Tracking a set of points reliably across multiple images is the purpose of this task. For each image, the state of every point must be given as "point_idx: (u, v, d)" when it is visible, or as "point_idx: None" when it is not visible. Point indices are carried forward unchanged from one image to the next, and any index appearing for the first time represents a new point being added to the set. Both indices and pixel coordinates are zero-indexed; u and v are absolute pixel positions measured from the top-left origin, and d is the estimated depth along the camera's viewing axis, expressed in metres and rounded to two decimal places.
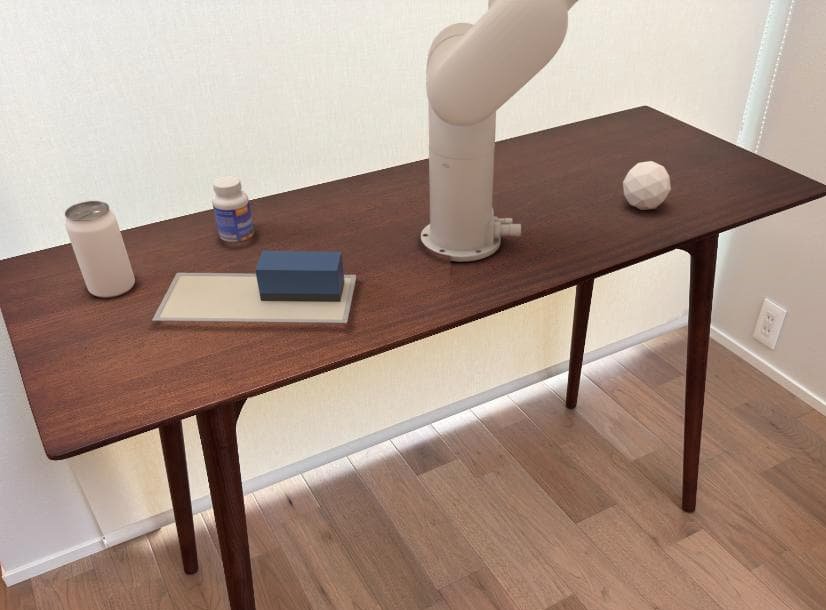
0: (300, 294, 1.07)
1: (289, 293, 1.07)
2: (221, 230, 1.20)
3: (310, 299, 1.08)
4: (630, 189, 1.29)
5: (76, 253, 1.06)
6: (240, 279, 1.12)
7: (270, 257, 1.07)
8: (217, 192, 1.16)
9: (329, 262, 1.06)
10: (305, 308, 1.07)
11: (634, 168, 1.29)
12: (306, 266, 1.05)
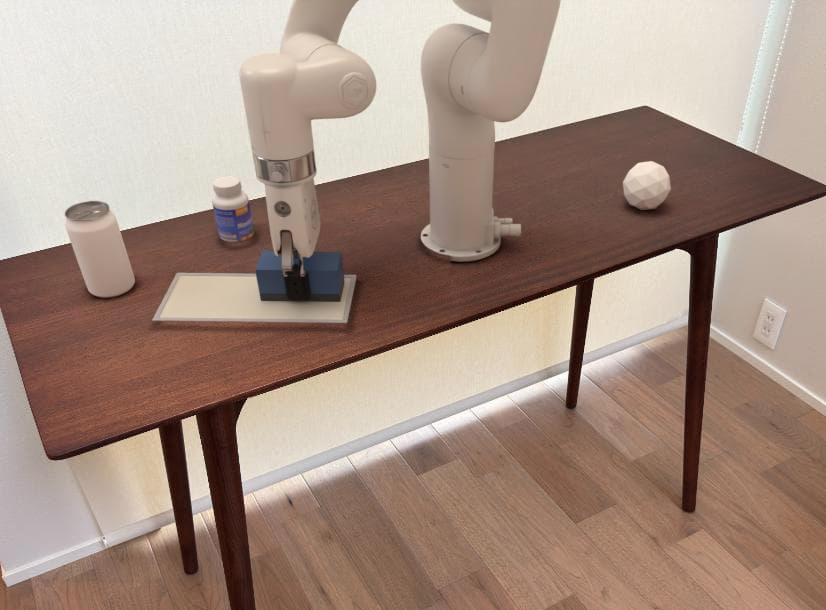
0: None
1: None
2: (221, 230, 1.20)
3: (310, 299, 1.08)
4: (630, 189, 1.29)
5: (76, 253, 1.06)
6: (240, 279, 1.12)
7: (270, 257, 1.07)
8: (217, 192, 1.16)
9: (329, 262, 1.06)
10: (305, 308, 1.07)
11: (634, 168, 1.29)
12: (306, 266, 1.05)
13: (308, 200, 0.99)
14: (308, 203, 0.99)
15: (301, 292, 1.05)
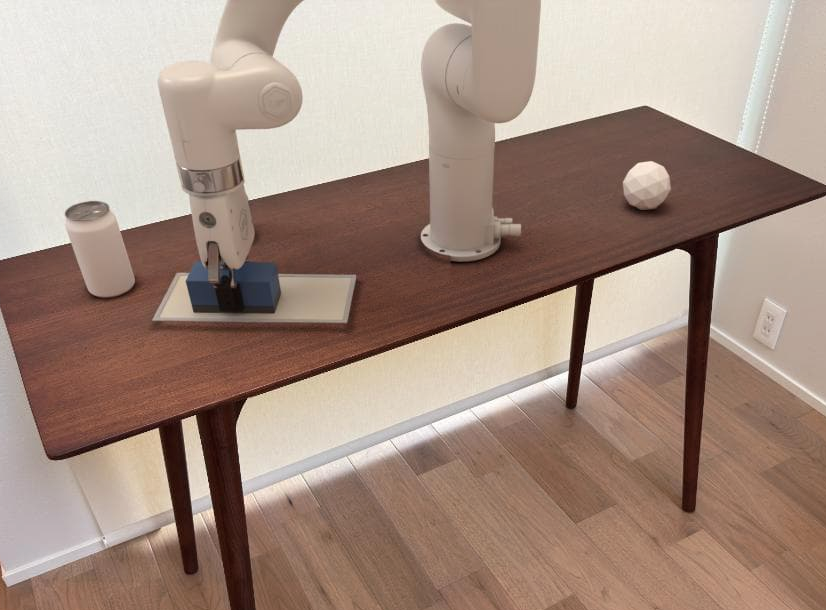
0: None
1: None
2: None
3: (243, 311, 1.05)
4: (630, 189, 1.29)
5: (76, 253, 1.06)
6: None
7: (202, 268, 1.05)
8: None
9: (262, 273, 1.04)
10: (305, 308, 1.07)
11: (634, 168, 1.29)
12: (238, 278, 1.03)
13: (235, 211, 0.96)
14: (235, 214, 0.96)
15: (233, 304, 1.03)
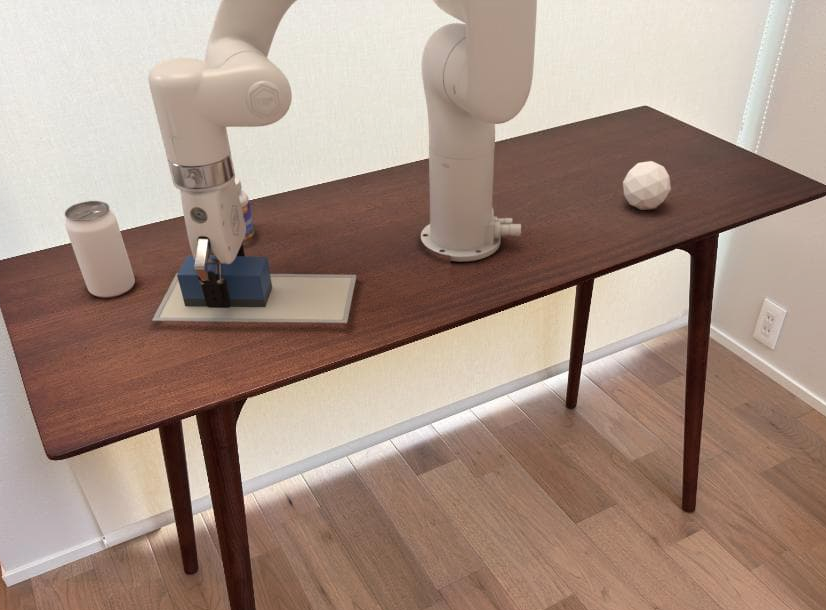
0: None
1: None
2: None
3: (235, 304, 1.06)
4: (630, 189, 1.29)
5: (76, 253, 1.06)
6: None
7: (193, 262, 1.06)
8: None
9: (253, 267, 1.05)
10: (305, 308, 1.07)
11: (634, 168, 1.29)
12: (229, 272, 1.04)
13: (226, 206, 0.98)
14: (226, 209, 0.98)
15: (220, 300, 1.02)
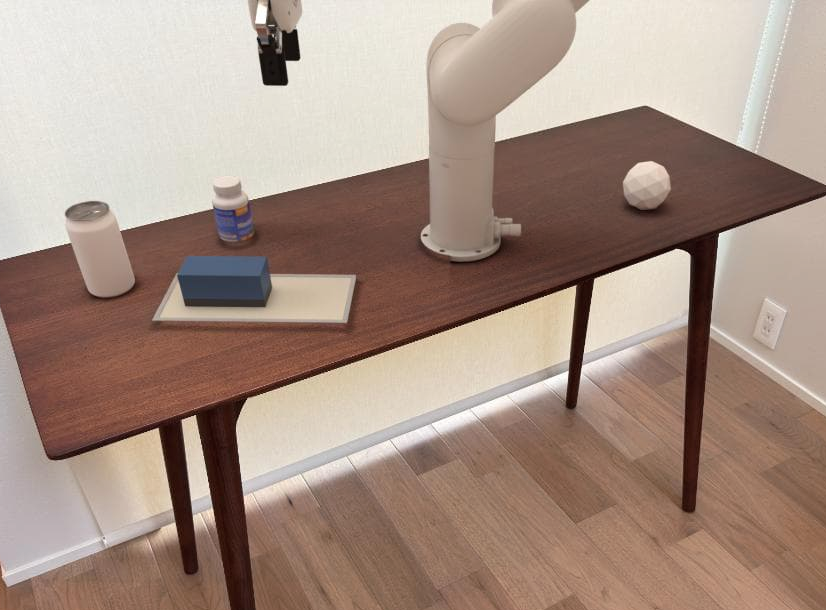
0: (224, 299, 1.06)
1: (213, 299, 1.06)
2: (221, 230, 1.20)
3: (235, 304, 1.06)
4: (630, 189, 1.29)
5: (76, 253, 1.06)
6: None
7: (193, 262, 1.06)
8: (217, 192, 1.16)
9: (253, 267, 1.05)
10: (305, 308, 1.07)
11: (634, 168, 1.29)
12: (229, 272, 1.04)
13: None
14: None
15: (277, 74, 0.99)
